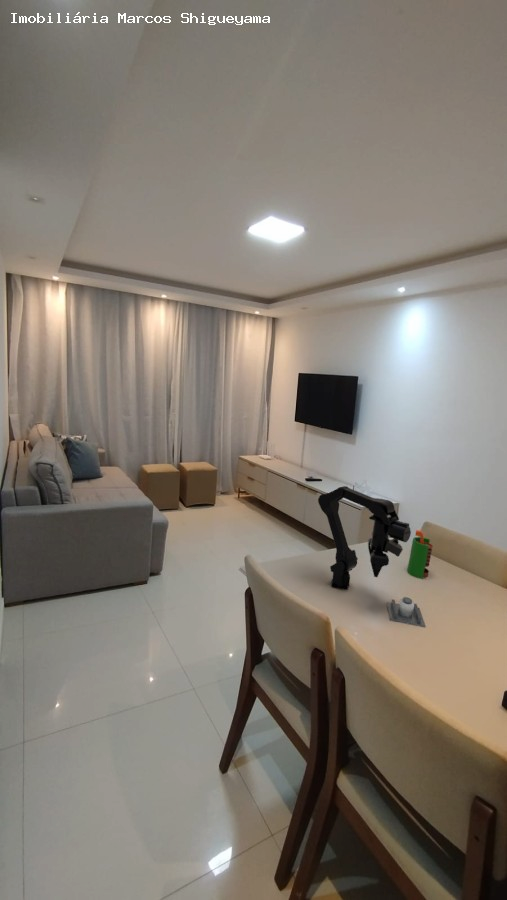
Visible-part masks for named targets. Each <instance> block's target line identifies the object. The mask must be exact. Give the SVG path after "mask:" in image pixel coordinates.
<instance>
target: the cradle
mask: <svg viewBox="0 0 507 900" xmlns="http://www.w3.org/2000/svg"><path fill="white" fill-rule="evenodd" d="M386 609H387V613H388V616H389V618H388V619H389V621H390V622H396V623H400V624H401V623H402V624H407V625H412V626H416V627H422V628H426V623H425V620H424V617H423V615H422V611H421V609H420V607H418V603H414V609H413V615H412V617H405V616H402V615H401V614H399V612H398V609H399V603H396V600H395V599H393V598H392V599H391V602H390V601H386Z"/></svg>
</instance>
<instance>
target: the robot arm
mask: <svg viewBox="0 0 507 900" xmlns="http://www.w3.org/2000/svg"><path fill="white" fill-rule="evenodd" d="M343 499H346V500H348V501H350V502H353V503H354V504H357V505H359V506H362V507H364V508H366V509H368V511H370V513H371V514H372V515H371V516H369V518H368V519H369V520H372V521H373V528H372V532H371V538H368V539H367V540H368V541H367V549H368V552H369V557H370V558H369V561H370V564H371V568H372V573H373V577H374V578H378V577H379V574H380V573H381V570H382V568H383V567H387V566H388V565H389V563H390V558H389V555H387V554H388V553H391V554H393V555H395V556H396V557H400V555H401V553H402V552H403V550H404V548H403V547H402V545H401V544H400V543H399V541H400V542H403V543H408V541H409V540H410V537H411V534H412V530H411V528H410V523H408V522H404V521H403V522H402V521H400V518H399V515H398V514H397V512H396V509H395V506H394V503H393V501H392V500H388V499H384V498H376V497H371V496H370V495H368V494H364V493H362V492H360V491H357V490H354V489H353V488H350V487H348V486H347V485H344V486H340V487H337V488H336V489H334V490H332V491H330V492H327V493H322V494H320V495H319V496H318V499H317V503H318V505H319V508H320V509H321V511H322V512H323V513H324V515H326V519H327V521H328V525H329V528H330V531H331V532H330V533H331V535H332V539H333V542H334V546H335V548H336V549H335V550H336V551H335V563H334V564H332V565H330V572H331V573H332V578H331V587H332V588H335V589H341V590H348V589H349V587H350V580H351V574H350V572H351V571H352V570H353V569H355V568H356V567H357V565H358V559H359V558H358V557H357V553H356V550H355V549H351V548H350V546H349V544H348V541H347V538H346V534H345V532H344V528H343V524H342V522H341V517H340V513H339V510H340V500H341V501H342V500H343ZM388 516H389V517H388ZM389 538H391V539H389Z"/></svg>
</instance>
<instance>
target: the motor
mask: <svg viewBox="0 0 507 900" xmlns="http://www.w3.org/2000/svg"><path fill="white" fill-rule="evenodd" d="M415 536H416V537H413V538H412V543H411V548H410V552H409V553H410V554H409V558H408V564H407V569H406V570H407V571H406V572H407V573H408V574H409V575H410V576H412V577H414V578H417V579H422V580H423V578H424V579H427V578H428V577H429V573H430V571H429V569H428V568H427V567H429V566H430V562H431V558H432V552H433V548H434V547H433V544H431V542H430V541H431V539H430V538H426V537H424V533H423V531H422V530H418V529H417V530H415Z"/></svg>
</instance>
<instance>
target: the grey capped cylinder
mask: <svg viewBox="0 0 507 900" xmlns="http://www.w3.org/2000/svg"><path fill="white" fill-rule="evenodd" d="M398 604H399V609H398V612H399V614H401V615H402V616H405V617H412V615H413V609H414V604H415V602H414V601H413V599H411V598H409V597H406V596H404V597H403V598H400V599H399V603H398Z"/></svg>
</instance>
